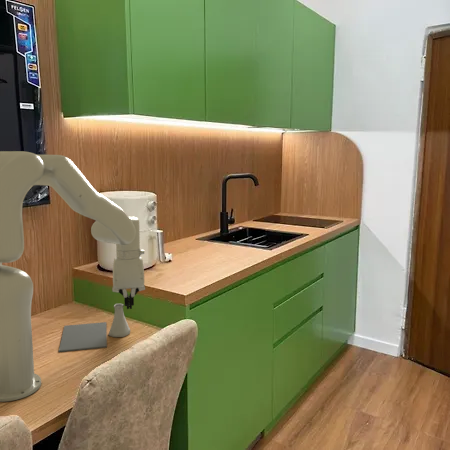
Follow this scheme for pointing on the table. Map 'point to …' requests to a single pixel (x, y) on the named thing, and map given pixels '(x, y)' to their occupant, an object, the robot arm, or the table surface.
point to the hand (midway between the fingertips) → (129, 307)
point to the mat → (83, 337)
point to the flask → (119, 323)
